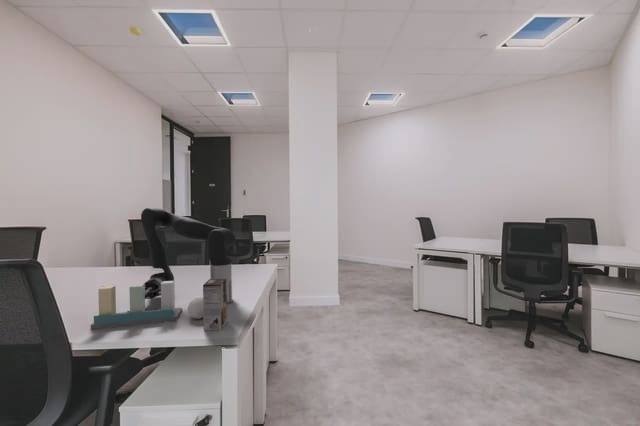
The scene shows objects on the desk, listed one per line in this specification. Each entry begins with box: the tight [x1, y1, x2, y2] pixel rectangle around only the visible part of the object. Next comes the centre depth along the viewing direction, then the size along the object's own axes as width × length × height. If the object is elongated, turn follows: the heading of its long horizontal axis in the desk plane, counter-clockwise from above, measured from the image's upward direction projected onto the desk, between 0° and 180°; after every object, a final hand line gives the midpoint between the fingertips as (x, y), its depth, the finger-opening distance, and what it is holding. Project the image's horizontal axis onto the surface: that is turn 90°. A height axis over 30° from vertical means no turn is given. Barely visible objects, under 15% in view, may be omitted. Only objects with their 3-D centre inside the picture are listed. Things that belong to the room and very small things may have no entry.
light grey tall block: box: [160, 280, 176, 312], centre depth 120 cm, size 4×4×12 cm
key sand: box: [98, 285, 117, 315], centre depth 113 cm, size 4×4×12 cm
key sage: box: [128, 283, 146, 313], centre depth 115 cm, size 4×4×12 cm
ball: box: [187, 296, 204, 320], centre depth 118 cm, size 8×8×8 cm
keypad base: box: [90, 307, 183, 330], centre depth 118 cm, size 28×12×4 cm, turn 104°
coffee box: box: [202, 278, 228, 332], centre depth 110 cm, size 9×6×16 cm
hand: (139, 298), depth 117 cm, fingers closed
